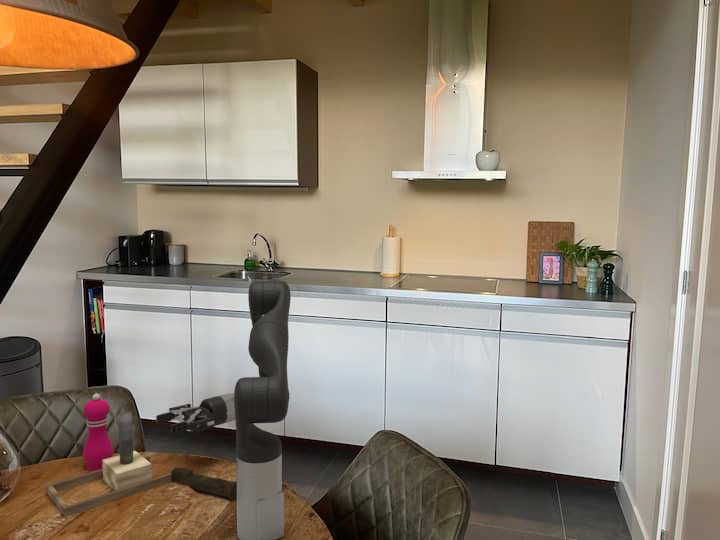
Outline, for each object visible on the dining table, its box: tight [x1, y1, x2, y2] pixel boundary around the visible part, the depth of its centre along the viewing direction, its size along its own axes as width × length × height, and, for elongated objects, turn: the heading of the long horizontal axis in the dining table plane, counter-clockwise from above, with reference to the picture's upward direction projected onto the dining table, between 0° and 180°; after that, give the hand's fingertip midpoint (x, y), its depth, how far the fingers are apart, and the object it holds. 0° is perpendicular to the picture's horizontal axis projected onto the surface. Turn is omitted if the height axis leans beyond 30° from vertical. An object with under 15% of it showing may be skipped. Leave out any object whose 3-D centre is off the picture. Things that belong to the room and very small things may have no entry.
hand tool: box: [170, 467, 237, 502], centre depth 137 cm, size 19×4×5 cm, turn 67°
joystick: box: [102, 411, 154, 491], centre depth 138 cm, size 10×8×17 cm
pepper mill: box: [82, 393, 115, 471], centre depth 147 cm, size 7×7×20 cm
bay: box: [45, 455, 173, 518], centre depth 136 cm, size 14×24×3 cm, turn 133°
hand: (163, 424), depth 144 cm, fingers open, 8 cm apart
